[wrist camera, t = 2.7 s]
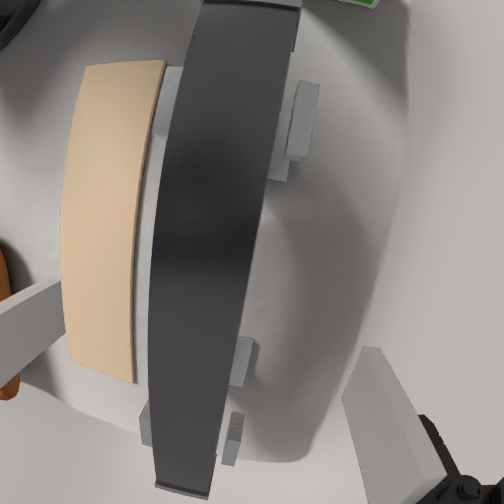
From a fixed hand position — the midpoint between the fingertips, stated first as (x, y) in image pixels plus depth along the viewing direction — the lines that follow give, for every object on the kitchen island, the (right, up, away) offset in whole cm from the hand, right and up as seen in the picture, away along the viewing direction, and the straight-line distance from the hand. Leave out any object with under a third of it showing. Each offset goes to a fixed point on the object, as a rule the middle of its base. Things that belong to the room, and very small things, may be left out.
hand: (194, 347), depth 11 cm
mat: (-11, +5, +12) cm, 17 cm away
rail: (0, +1, +4) cm, 4 cm away
